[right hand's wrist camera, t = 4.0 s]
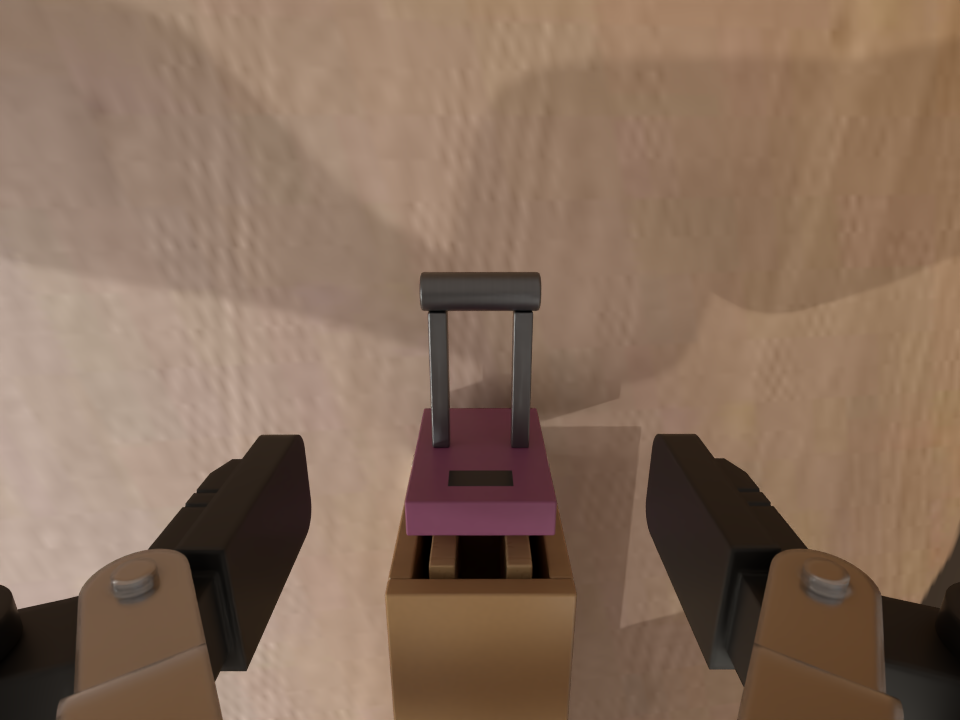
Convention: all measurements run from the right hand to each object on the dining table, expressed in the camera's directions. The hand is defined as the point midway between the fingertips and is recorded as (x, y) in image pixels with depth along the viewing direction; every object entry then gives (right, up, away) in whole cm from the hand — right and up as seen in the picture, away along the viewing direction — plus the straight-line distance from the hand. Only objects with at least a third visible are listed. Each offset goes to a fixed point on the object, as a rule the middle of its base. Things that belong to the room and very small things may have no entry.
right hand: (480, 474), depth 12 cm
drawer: (0, -6, +13) cm, 14 cm away
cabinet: (0, -11, +16) cm, 20 cm away
